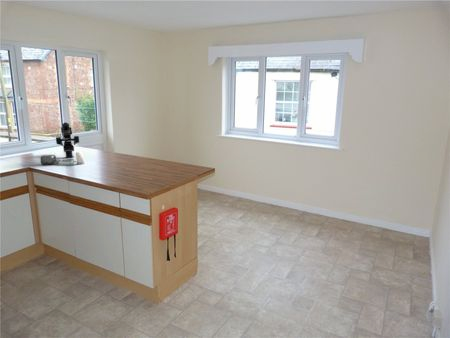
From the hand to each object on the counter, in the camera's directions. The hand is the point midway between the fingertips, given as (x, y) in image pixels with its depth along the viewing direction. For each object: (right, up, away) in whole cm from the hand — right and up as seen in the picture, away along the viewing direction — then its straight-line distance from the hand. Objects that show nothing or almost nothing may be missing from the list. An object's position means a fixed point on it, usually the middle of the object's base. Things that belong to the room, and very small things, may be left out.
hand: (68, 145), depth 295 cm
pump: (+10, -16, +1) cm, 19 cm away
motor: (-9, -16, +1) cm, 19 cm away
